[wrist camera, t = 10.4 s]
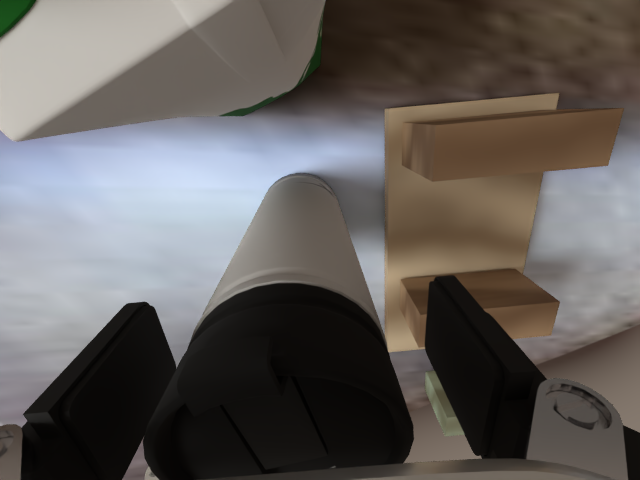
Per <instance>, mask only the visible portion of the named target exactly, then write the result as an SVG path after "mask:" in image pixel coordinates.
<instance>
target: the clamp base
mask: <svg viewBox="0 0 640 480" xmlns="http://www.w3.org/2000/svg"><path fill="white" fill-rule="evenodd" d="M558 97H559V93H553V94H542V95H531V96H520V97H509V98H498V99H487V100H476V101H466V102H455V103H444V104H433V105H422V106H411V107H400V108H389V109H385V338H386V341H387V347H388V352H396V351H406V350H417V349H425V347H421V348H419V347H418V345H417V343H416V341H415V339H414V337H413V335H412V333H411V331H410V329H409V326H408V324H407V322H406V320H405V318H404V316H403V314H402V312H401V310H400V279H410V278H421V277H431V276H442V275H453V274H464V273H474V272H485V271H496V270H507V269H516V270H518V271H519V272H520V273H522V274H523V270H524V265H525V261H526V256H527V251H528V246H529V241H530V236H531V231H532V226H533V221H534V216H535V211H536V206H537V201H538V196H539V191H540V186H541V181H542V176H543V172H544V171H555V170H566V169H577V168H588V167H598V166H608V164H609V160H610V156H611V153H612V149H613V146H614V142H615V139H616V135H617V132H618V128H619V125H620V121H621V118H622V114H623V110H624V108H603V109H556V107H557V102H558Z"/></svg>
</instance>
